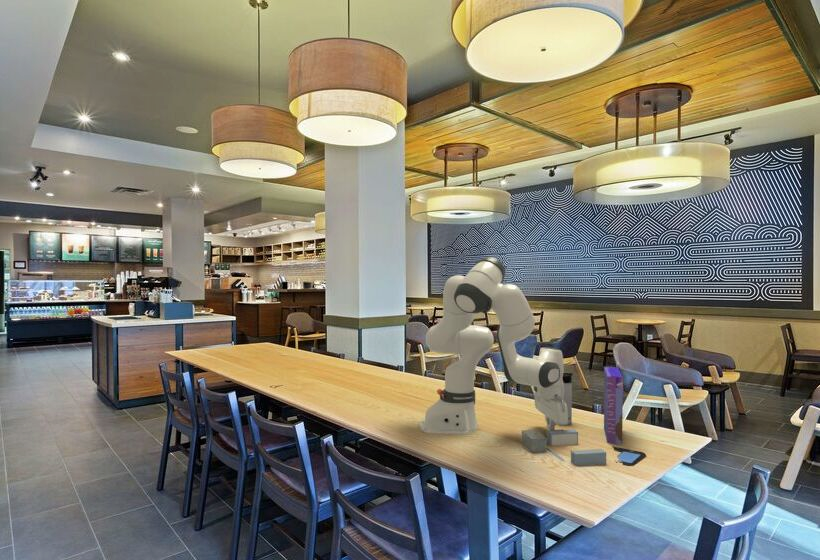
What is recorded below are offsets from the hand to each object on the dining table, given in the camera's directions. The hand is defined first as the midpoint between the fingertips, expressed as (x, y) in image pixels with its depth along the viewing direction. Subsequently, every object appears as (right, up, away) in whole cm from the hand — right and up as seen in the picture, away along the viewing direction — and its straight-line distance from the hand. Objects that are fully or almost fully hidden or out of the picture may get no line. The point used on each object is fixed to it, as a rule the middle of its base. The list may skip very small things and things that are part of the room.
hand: (550, 429), depth 161 cm
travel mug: (+9, -3, +14) cm, 17 cm away
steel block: (-10, -3, -14) cm, 17 cm away
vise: (+1, -3, -21) cm, 21 cm away
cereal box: (+22, -3, -1) cm, 22 cm away
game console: (+16, -4, -20) cm, 25 cm away
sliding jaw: (+1, -3, -7) cm, 8 cm away
